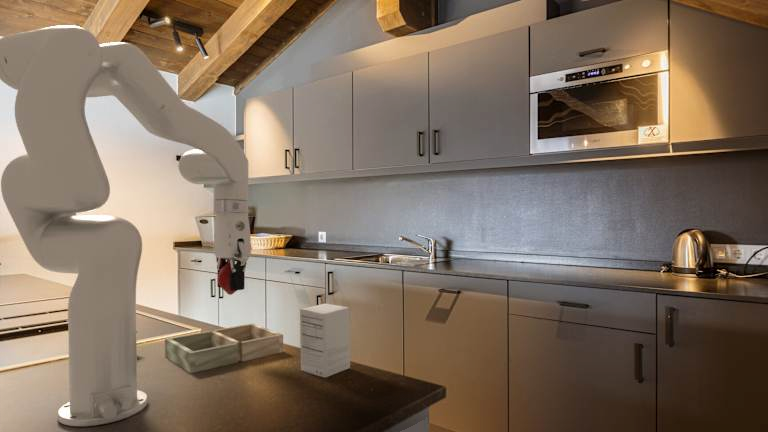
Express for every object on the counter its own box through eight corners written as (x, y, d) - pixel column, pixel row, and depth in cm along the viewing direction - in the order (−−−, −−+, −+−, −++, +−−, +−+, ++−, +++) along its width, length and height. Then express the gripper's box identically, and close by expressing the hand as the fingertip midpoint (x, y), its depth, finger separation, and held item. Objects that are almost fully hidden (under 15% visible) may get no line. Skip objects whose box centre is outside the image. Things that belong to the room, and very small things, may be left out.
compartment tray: (283, 352, 110) (283, 334, 110) (190, 373, 96) (190, 353, 96) (252, 339, 121) (252, 323, 121) (165, 356, 107) (164, 338, 107)
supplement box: (325, 361, 103) (325, 302, 103) (351, 368, 99) (350, 307, 98) (299, 370, 98) (298, 308, 97) (324, 378, 93) (324, 313, 93)
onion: (248, 292, 112) (248, 258, 112) (237, 296, 106) (238, 260, 106) (224, 292, 112) (224, 258, 113) (212, 296, 107) (212, 260, 107)
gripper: (264, 208, 105) (263, 291, 105) (230, 209, 118) (230, 283, 118) (231, 207, 100) (230, 294, 100) (200, 209, 113) (199, 285, 113)
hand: (230, 287), depth 109 cm, fingers closed on onion, 5 cm apart
